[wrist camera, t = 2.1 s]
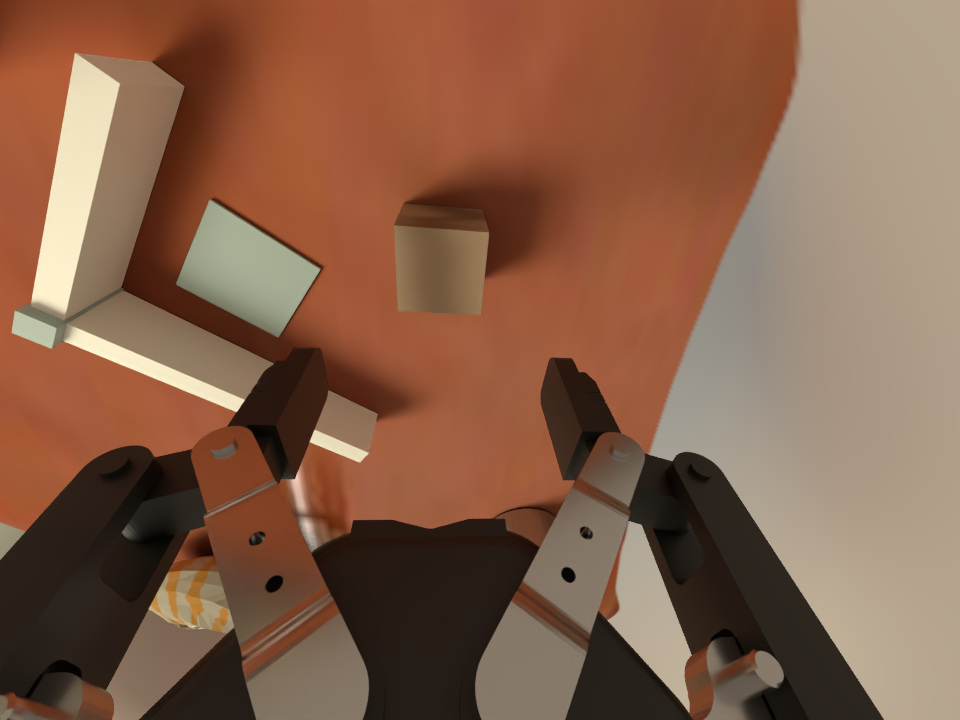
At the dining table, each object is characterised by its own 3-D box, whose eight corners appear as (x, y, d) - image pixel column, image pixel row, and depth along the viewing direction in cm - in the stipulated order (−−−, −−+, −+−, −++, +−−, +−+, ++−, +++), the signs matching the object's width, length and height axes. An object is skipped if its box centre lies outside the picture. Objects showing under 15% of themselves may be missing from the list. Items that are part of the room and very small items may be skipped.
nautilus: (343, 585, 54) (257, 597, 56) (246, 523, 41) (138, 543, 43) (328, 651, 48) (232, 662, 50) (208, 605, 35) (85, 623, 37)
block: (482, 209, 23) (489, 232, 19) (475, 281, 26) (480, 315, 22) (404, 202, 23) (393, 225, 19) (406, 277, 26) (397, 310, 21)
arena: (479, 303, 27) (484, 340, 23) (368, 424, 34) (357, 470, 29) (147, 59, 18) (54, 47, 14) (86, 292, 24) (11, 332, 20)
